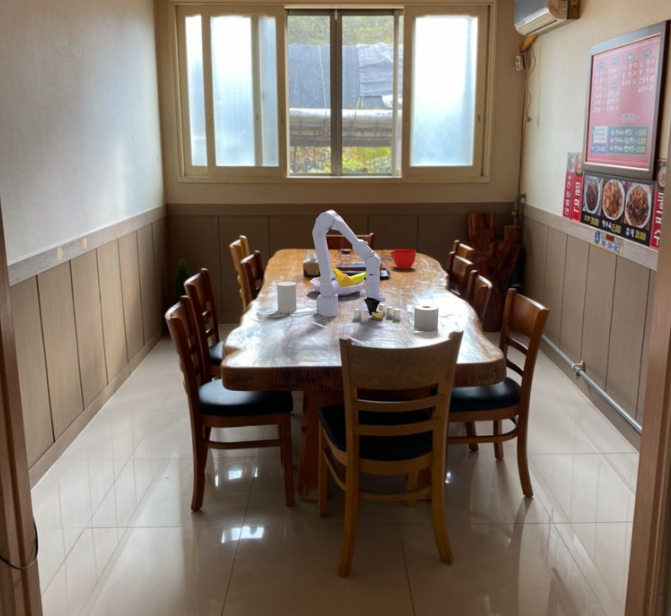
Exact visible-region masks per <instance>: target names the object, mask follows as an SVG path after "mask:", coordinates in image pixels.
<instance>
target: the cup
mask: <svg viewBox="0 0 671 616" xmlns="http://www.w3.org/2000/svg"><path fill="white" fill-rule="evenodd" d="M276 285H277V289H276V290H277V295H276V296H277V312H278V313H282V314H291V313H292V312H293V313H296V312H297V311H296V310H297V309H298V308H297V283H296V282H294V281H280V282H277V284H276ZM295 311H296V312H295Z"/></svg>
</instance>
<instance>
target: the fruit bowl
mask: <svg viewBox="0 0 671 616" xmlns="http://www.w3.org/2000/svg"><path fill="white" fill-rule="evenodd" d="M332 271H333V273H334V274H335V278H336V280H337V281H338V282H339V288H338V290H337V294H338V297H340V296H349V295H352V294H355V293H356V292H360V291H362V288H363V286H364V284H365V283H366V271H363V272H360V273H356V274H354V275H351V276H350V275H348V274H346V273H343V272H342V271H341V270H340V269H338V268H335V267H334V268H333V267H332ZM309 283H310V285H311V286H312V287H313V289H314V291H316V292H318V293H320V291H319V287H320V276H318V277H313V278H312V279H311V280H310V281H309Z"/></svg>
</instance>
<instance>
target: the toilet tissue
mask: <svg viewBox="0 0 671 616" xmlns="http://www.w3.org/2000/svg"><path fill="white" fill-rule="evenodd" d="M413 311H414V313H413V315H414V316H413V326H414V328H416V329H418V331H419V332H434V331H437V330H438V329H439V306H437V305H434V304H429V303H420V304H417V305H414V310H413Z"/></svg>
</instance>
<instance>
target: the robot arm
mask: <svg viewBox="0 0 671 616" xmlns="http://www.w3.org/2000/svg"><path fill="white" fill-rule="evenodd" d="M329 230H333V231H334V230H335V231H338V232H340V234H341V235H343V237H345V238H346V240H347V241H348V242H349V243H350V244H351V245H352V251H354V253H356V255H357V256H358V257H359V258H360V260H361V261H363V262H364V267H365V272H366V277H365V290H364V289H363V290H359V296H363V297H366V298H364V299H363V301H364V303H365V305H366V307H367V311H368V312H369V316H372V311H378V308H379V304H381V303H384V302H386V296H384V295H382V292H380V287H381V285H380V282H381V281H380V280H381V278H380V276H381V273H380V272H381V271H380V270H381V269H380V268H381V267H380V265H381V263H382V258H381V256H380V254H379V253H376V251H375V250H373V249H372V248H371V247H370V246H369V245H368V244H369V242H368V241H367V240H366V241H365V240H363V239H359V238H358V237H357V235H356V234H355V233H354V231H353V230H352V229H351V228H350V227H349V226H348V224H347V223H346V222H345V221H344V219H343V218H342V216H340V215H339V214H338V213H337V211H335V210H333V209H329V210H326V211H325V212H322V213H320V214H319V215H318V216H317V217H316V219H315V222H314V226H313V229H312V232H311V233H312V234H311V235H312V238H313V243H314V249H315V253H316V259H317V263H318V269H319V272H320V273H319V274H320V276H319V277H320V287H319V291H320V292H319V293H320V294H319V295H318V296H317V297H316V301H315V302H316V306H315V307H316V308H315V309H316V312H315V313H314V314H319V315H320V316H323V317H330V318H331V317H337V316H338V315H339V296H338V294H337V290H338V288H339V282H338V281H337V280H336V278H335V274H334V273H333V271H332V268H333V267H332V261H331V257H330V252H329V246H328V242H327V236H326V235H327V233H329Z"/></svg>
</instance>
